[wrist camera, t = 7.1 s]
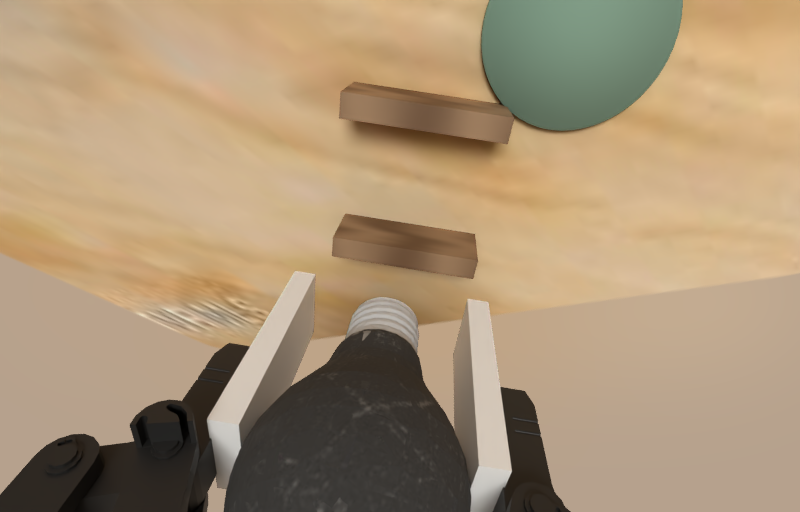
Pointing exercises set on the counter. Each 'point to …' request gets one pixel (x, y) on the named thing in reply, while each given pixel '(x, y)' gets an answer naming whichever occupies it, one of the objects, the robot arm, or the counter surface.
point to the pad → (575, 56)
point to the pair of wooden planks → (402, 239)
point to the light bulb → (356, 432)
